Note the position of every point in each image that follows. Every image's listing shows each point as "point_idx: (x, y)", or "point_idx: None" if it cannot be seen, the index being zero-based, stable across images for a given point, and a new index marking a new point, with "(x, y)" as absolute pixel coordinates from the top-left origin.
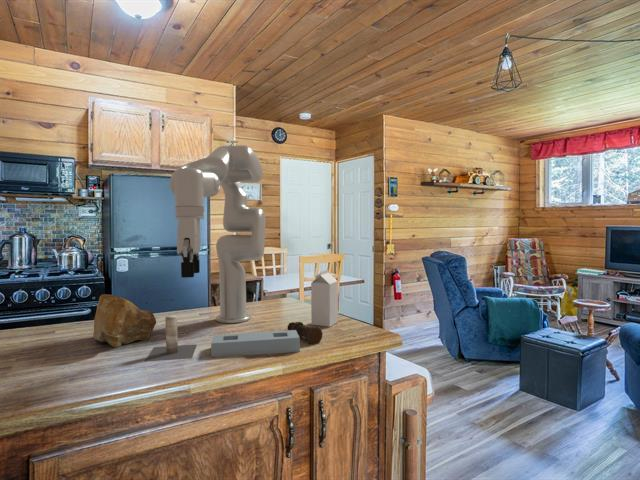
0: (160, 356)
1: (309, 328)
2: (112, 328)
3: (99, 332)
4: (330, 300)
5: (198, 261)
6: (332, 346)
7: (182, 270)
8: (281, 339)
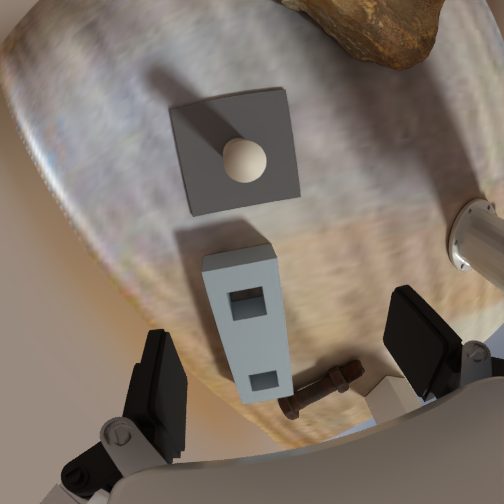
0: (205, 133)
1: (286, 412)
2: None
3: None
4: None
5: (416, 390)
6: (264, 412)
7: (143, 367)
8: (236, 384)
